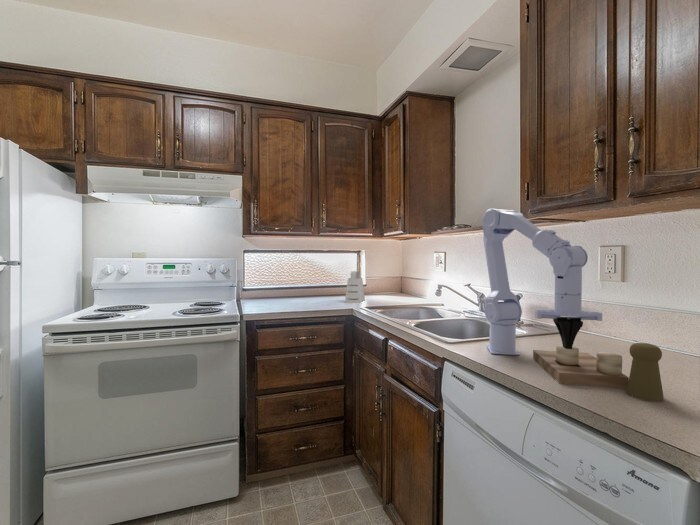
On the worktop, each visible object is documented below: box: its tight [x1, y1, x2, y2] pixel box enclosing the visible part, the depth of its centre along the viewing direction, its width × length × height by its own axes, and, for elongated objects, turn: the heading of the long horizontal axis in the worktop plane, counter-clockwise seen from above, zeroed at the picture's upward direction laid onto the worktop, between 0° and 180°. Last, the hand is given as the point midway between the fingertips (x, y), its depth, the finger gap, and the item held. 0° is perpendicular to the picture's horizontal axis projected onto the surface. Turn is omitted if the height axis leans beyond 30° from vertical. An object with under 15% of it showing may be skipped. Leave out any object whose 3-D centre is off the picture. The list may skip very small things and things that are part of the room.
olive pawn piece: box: [626, 342, 665, 403], centre depth 73 cm, size 6×6×11 cm
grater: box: [344, 270, 366, 304], centre depth 223 cm, size 10×10×20 cm
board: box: [532, 349, 629, 389], centre depth 88 cm, size 20×14×6 cm
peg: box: [555, 344, 580, 367], centre depth 87 cm, size 5×5×6 cm
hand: (567, 348), depth 87 cm, fingers closed, pressing on peg
